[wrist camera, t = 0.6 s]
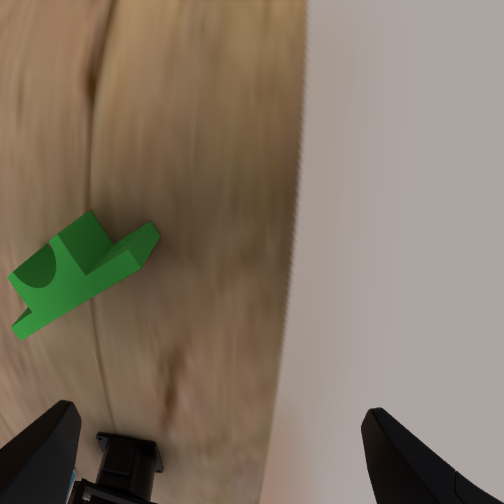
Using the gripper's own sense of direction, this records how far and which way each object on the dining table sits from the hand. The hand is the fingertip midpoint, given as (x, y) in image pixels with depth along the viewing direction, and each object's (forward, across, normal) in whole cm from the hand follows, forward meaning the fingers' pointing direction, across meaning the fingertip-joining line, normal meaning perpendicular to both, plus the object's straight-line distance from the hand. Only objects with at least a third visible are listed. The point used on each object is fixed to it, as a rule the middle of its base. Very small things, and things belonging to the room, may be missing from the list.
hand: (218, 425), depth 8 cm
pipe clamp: (+12, +10, 0) cm, 16 cm away
